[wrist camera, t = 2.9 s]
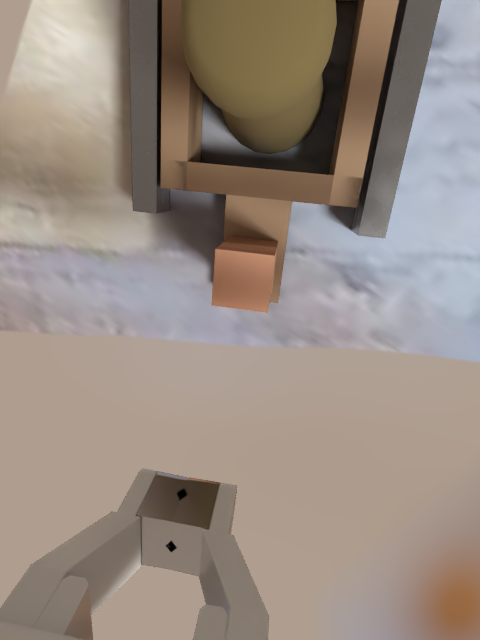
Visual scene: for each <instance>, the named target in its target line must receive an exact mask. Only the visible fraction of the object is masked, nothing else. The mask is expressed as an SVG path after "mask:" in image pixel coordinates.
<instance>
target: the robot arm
mask: <svg viewBox="0 0 480 640" xmlns="http://www.w3.org/2000/svg"><path fill="white" fill-rule="evenodd" d="M236 493H237V485H231V484H226V483H219V482H214V481H208V480H202V479H196V478H188V477H183V476H179V475H173V474H169V473H164V472H159V471H153V470H148V469H142V470H140V472H139V473H138V475H137V477H136V478H135V480H134V482H133V484H132V486H131V488H130V489H129V491H128V493H127V495H126V496H125V499H124V500H123V502H122V504H121V506H120V507H119V509H118V511H117V512H110V513H109V514H108V515H106V516H104V517H103V518H101V519H100V520H98V521H97V522H95V523H94V524H92V525H91V526H89V527H88V528H86V529H85V530H83V531H81V532H80V533H78V534H77V535H75V536H74V537H72V538H71V539H69V540H68V541H66V542H65V543H63V544H62V545H60V546H59V547H57V548H56V549H54V550H52V551H51V552H49V553H48V554H46V555H45V556H43V557H42V558H40V559H39V560H37V561H36V562H34V563H33V564H31V565H30V567H29V568H28V570H27V571H26V572H25V574H24V575H23V577H22V578H21V580H20V581H19V582H18V584H17V585H16V587H15V588H14V589H13V591H12V592H11V594H10V595H9V596H8V598H7V600H6V601H5V602H4V604H3V605H2V606H1V608H0V640H93V632H92V620H91V615H92V614H93V613H94V612H95V611H96V610H97V609H98V608H99V607H100V606H101V605H102V604H103V603H104V602H105V601H106V600H107V599H108V598H109V597H110V596H111V595H112V594H113V593H114V592H115V591H116V590H118V589H119V587H121V586H122V585H123V584H124V583H125V582H126V581H127V580H128V579H129V578H130V577H131V576H132V575H133V574H134V573H135V572H136V571H137V570H138V569H139V568H140V567H141V565H147V566H153V567H159V568H165V569H171V570H174V571H179V572H183V573H187V574H191V575H195V576H199V579H200V583H201V587H202V590H203V595H204V598H205V602H206V605H205V606H203V607H202V608H201V609H200V611H199V615H198V620H197V624H196V628H195V632H194V637H193V640H268V629H269V615H268V612H267V610H266V608H265V606H264V603H263V602H262V599H261V597H260V594H259V592H258V590H257V587H256V585H255V583H254V581H253V578H252V576H251V574H250V571H249V569H248V567H247V565H246V563H245V560H244V558H243V556H242V553H241V551H240V549H239V547H238V544H237V542H236V540H235V537H234V535H232V534H231V533H232V525H233V518H234V510H235V501H236Z"/></svg>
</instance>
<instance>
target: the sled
mask: <svg viewBox="0 0 480 640" xmlns="http://www.w3.org/2000/svg"><path fill="white" fill-rule="evenodd" d="M337 1H358V6H357V12H356V18H355V23H354V29H353V35H352V41H351V47H350V53H349V59H348V65H347V71H346V77H345V82H344V88H343V94H342V100H341V106H340V112H339V118H338V124H337V130H336V136H335V141H334V147H333V153H332V159H331V165H330V171H329V175H325V174H314V173H304V172H293V171H282V170H272V169H261V168H250V167H240V166H229V165H218V164H207V163H200V159H201V137H202V115H203V93H204V92H203V91H202V90H201V89H200V88H199V87H198V85H197V84H196V82H195V79H194V77H193V75H192V73H191V71H190V69H189V67H188V65H187V63H186V59H185V54H184V48H183V42H182V37H181V31H180V18H181V4H182V0H162V83H161V188H166V189H176V190H186V191H196V192H206V193H216V194H226V205H225V219H224V233H223V243H222V244H221V245H219V246H218V247H217V248H216V249H215V262H214V277H213V292H212V305H213V306H221V307H228V308H236V309H244V310H251V311H259V312H266V313H268V308H269V303H270V302H275V303H278V299H279V292H280V285H281V277H282V270H283V263H284V256H285V248H286V241H287V234H288V226H289V219H290V212H291V205H292V201H295V202H304V203H314V204H324V205H334V206H344V207H354V208H357V205H358V200H359V195H360V190H361V185H362V180H363V175H364V171H365V166H366V161H367V156H368V151H369V146H370V141H371V136H372V131H373V126H374V121H375V116H376V111H377V106H378V102H379V97H380V92H381V87H382V82H383V77H384V72H385V67H386V62H387V57H388V52H389V47H390V42H391V37H392V33H393V28H394V23H395V18H396V13H397V8H398V3H399V0H337Z"/></svg>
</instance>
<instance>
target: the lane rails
mask: <svg viewBox="0 0 480 640" xmlns="http://www.w3.org/2000/svg"><path fill="white" fill-rule="evenodd" d="M440 5H441V0H399V3H398V8H397V13H396V18H395V23H394V28H393V33H392V37H391V42H390V47H389V52H388V57H387V62H386V67H385V72H384V77H383V82H382V87H381V92H380V97H379V102H378V106H377V111H376V116H375V121H374V126H373V131H372V136H371V141H370V146H369V151H368V156H367V161H366V166H365V171H364V175H363V180H362V185H361V190H360V195H359V200H358V205H357V208H356V209H355V214H354V219H353V224H352V229H351V231H353V232H354V233H356V234H357V235H360V236H369V237H378V238H385V236H386V232H387V227H388V223H389V219H390V215H391V211H392V206H393V202H394V198H395V194H396V190H397V185H398V181H399V177H400V173H401V169H402V164H403V160H404V156H405V152H406V148H407V143H408V139H409V135H410V131H411V127H412V122H413V118H414V114H415V110H416V106H417V101H418V97H419V93H420V89H421V85H422V80H423V76H424V72H425V68H426V64H427V59H428V55H429V51H430V47H431V42H432V38H433V34H434V30H435V26H436V21H437V17H438V13H439V9H440ZM129 46H130V97H131V149H132V200H133V211H139V212H148V213H161V212H167V211H170V189H166V188H161V83H162V0H129Z"/></svg>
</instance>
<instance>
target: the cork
mask: <svg viewBox="0 0 480 640" xmlns="http://www.w3.org/2000/svg"><path fill="white" fill-rule="evenodd" d="M336 25H337V17H336V0H182V4H181V18H180V31H181V37H182V42H183V48H184V54H185V59H186V63H187V65H188V67H189V69H190V71H191V73H192V75H193V77H194V79H195V82H196V84H197V85H198V87H199V88H200V89H201V90H202V91H203V92H204V93H205V94H206V95H207V96H208V98H209V99H210V100H211V101H212V102H213V103H214V104H215V105H216V106H217V107H219V108H221V109H222V114H223V117H224V119H225V121H226V124H227V126H228V128H229V130H230V132H231V133H232V134H233V135H234V137H235V138H236V139H237V140H238V141H239V142H240V143H241V144H242V145H244V146H246V147H248V148H249V149H251V150H253V151H255V152H261V153H267V154H272V153H278V152H283V151H286V150H288V149H290V148H292V147H293V146H295V145H297V144H299V143H300V142H301V141H302V140H303V139H304V138H305V137H306V136H307V135H308V134H309V133H310V132H311V131H312V129H313V127H314V125H315V123H316V121H317V119H318V117H319V115H320V113H321V108H322V103H323V99H324V84H323V73H322V72H323V70H324V68H325V66H326V64H327V62H328V60H329V57H330V54H331V50H332V45H333V40H334V35H335V30H336Z"/></svg>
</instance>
